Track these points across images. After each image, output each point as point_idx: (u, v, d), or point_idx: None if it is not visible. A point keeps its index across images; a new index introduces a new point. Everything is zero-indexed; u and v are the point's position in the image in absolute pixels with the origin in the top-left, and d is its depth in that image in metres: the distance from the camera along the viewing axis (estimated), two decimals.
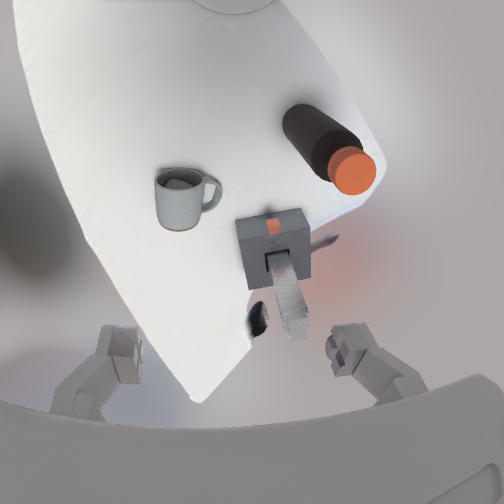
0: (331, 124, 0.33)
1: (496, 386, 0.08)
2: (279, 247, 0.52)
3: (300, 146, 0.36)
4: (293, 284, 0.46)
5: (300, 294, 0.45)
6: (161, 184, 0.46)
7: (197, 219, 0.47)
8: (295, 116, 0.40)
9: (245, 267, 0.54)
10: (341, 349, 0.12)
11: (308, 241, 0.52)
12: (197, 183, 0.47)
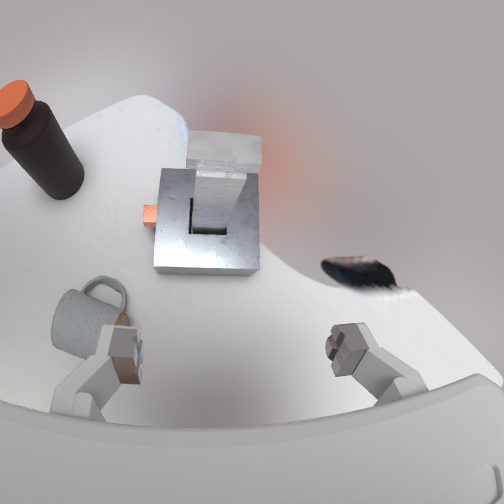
0: None
1: (496, 386, 0.08)
2: (184, 210, 0.35)
3: (29, 168, 0.27)
4: None
5: None
6: None
7: (111, 311, 0.31)
8: None
9: (208, 265, 0.34)
10: (341, 349, 0.12)
11: (186, 171, 0.36)
12: None
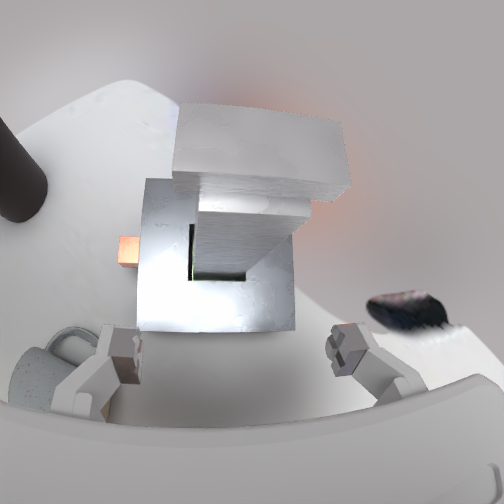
0: None
1: (496, 386, 0.08)
2: (180, 244, 0.23)
3: None
4: None
5: None
6: None
7: None
8: None
9: (220, 329, 0.22)
10: (341, 349, 0.12)
11: None
12: None
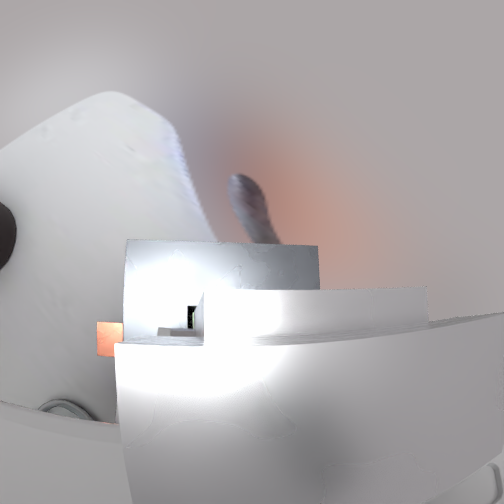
0: None
1: None
2: None
3: None
4: (196, 332, 0.09)
5: None
6: None
7: None
8: None
9: None
10: None
11: (176, 246, 0.18)
12: None
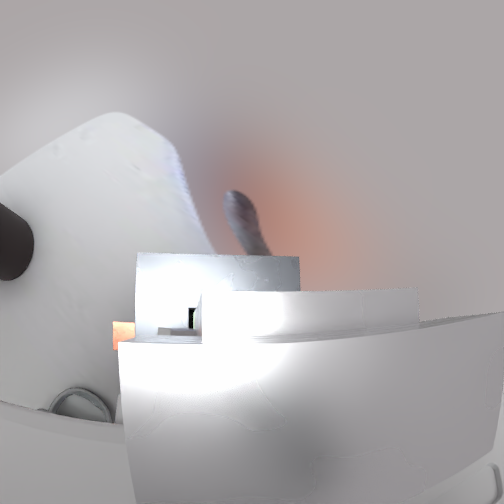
0: None
1: None
2: None
3: None
4: (196, 332, 0.09)
5: (197, 315, 0.07)
6: None
7: None
8: None
9: None
10: None
11: (178, 258, 0.21)
12: None
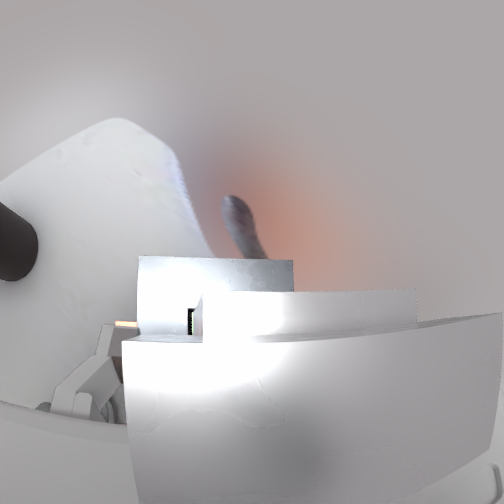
0: None
1: None
2: (179, 330, 0.21)
3: None
4: None
5: (197, 315, 0.07)
6: None
7: None
8: None
9: None
10: None
11: (178, 261, 0.23)
12: None
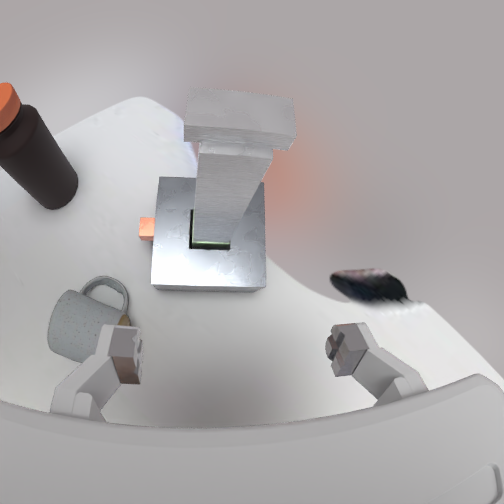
0: None
1: (496, 386, 0.08)
2: (184, 223, 0.32)
3: (18, 177, 0.25)
4: None
5: None
6: None
7: (111, 314, 0.29)
8: None
9: (210, 283, 0.31)
10: (341, 349, 0.12)
11: (186, 180, 0.33)
12: None
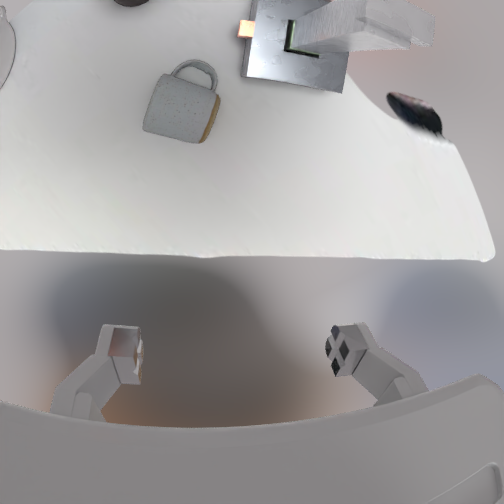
0: None
1: (496, 386, 0.08)
2: (281, 30, 0.28)
3: None
4: (333, 9, 0.17)
5: None
6: None
7: (208, 94, 0.32)
8: None
9: (298, 82, 0.32)
10: (341, 349, 0.12)
11: None
12: None
